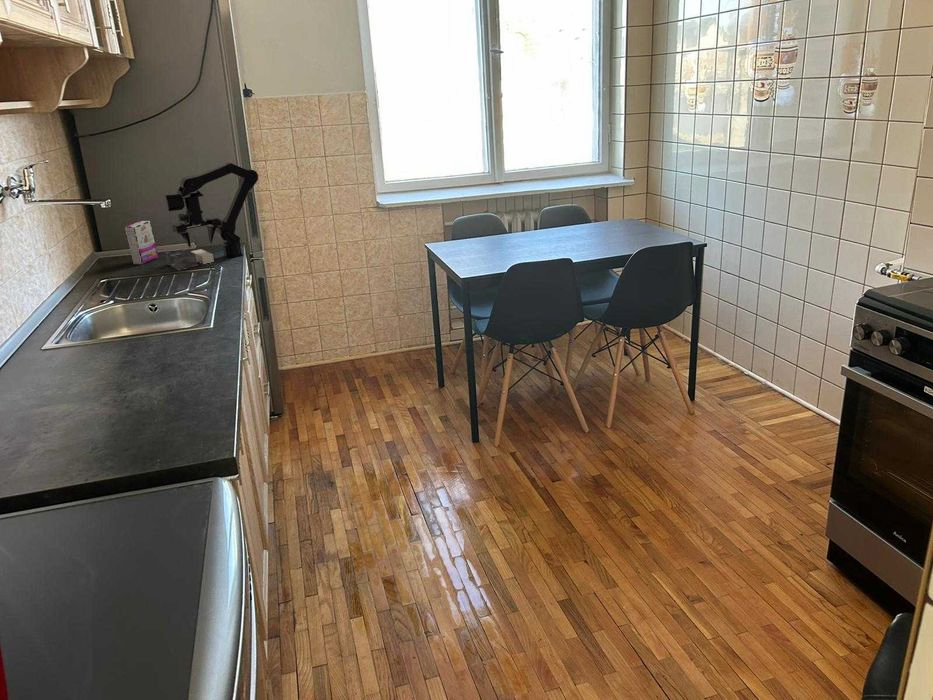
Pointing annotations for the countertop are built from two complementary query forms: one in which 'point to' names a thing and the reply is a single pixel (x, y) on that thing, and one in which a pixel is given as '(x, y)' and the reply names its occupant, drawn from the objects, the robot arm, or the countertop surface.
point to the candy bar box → (141, 242)
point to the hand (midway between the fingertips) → (200, 244)
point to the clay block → (203, 256)
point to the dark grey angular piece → (181, 259)
